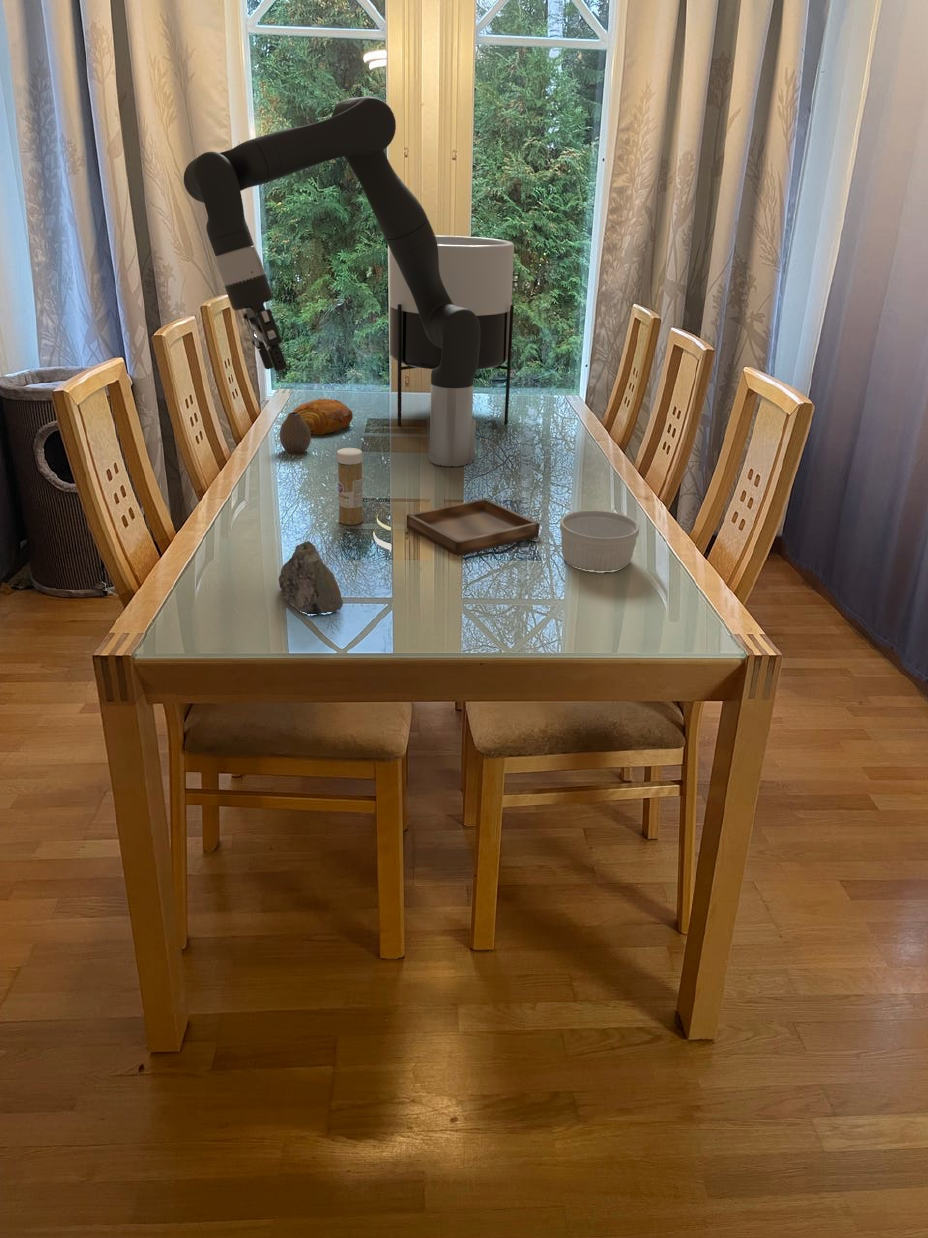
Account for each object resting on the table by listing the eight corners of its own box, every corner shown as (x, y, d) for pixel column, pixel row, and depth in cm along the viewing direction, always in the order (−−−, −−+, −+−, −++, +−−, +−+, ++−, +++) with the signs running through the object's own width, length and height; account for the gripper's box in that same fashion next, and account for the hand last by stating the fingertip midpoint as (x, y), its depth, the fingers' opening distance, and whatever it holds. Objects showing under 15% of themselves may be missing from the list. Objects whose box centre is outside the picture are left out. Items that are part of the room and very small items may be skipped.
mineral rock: (283, 581, 146) (279, 521, 142) (351, 583, 146) (349, 523, 142) (267, 617, 134) (262, 553, 130) (340, 620, 135) (338, 556, 130)
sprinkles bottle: (333, 521, 170) (331, 450, 164) (351, 515, 174) (350, 445, 168) (350, 527, 168) (349, 455, 162) (368, 521, 171) (367, 450, 165)
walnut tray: (484, 510, 178) (485, 498, 177) (538, 536, 167) (539, 523, 166) (406, 527, 169) (406, 514, 168) (457, 556, 157) (458, 542, 156)
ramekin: (615, 583, 149) (620, 543, 146) (543, 564, 156) (546, 525, 152) (646, 558, 160) (651, 520, 156) (577, 541, 166) (581, 504, 163)
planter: (529, 416, 246) (540, 241, 226) (463, 440, 222) (469, 248, 203) (435, 398, 261) (438, 233, 242) (364, 419, 238) (361, 238, 219)
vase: (305, 456, 206) (303, 417, 203) (275, 454, 208) (273, 415, 204) (315, 448, 213) (314, 410, 209) (287, 445, 214) (285, 408, 210)
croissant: (362, 434, 233) (365, 402, 230) (321, 439, 220) (324, 405, 217) (318, 424, 239) (320, 392, 237) (276, 427, 227) (278, 394, 224)
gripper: (272, 269, 157) (304, 363, 164) (256, 273, 170) (286, 361, 176) (230, 282, 155) (264, 377, 161) (217, 285, 168) (249, 373, 174)
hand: (275, 368), depth 169 cm, fingers open, 8 cm apart
